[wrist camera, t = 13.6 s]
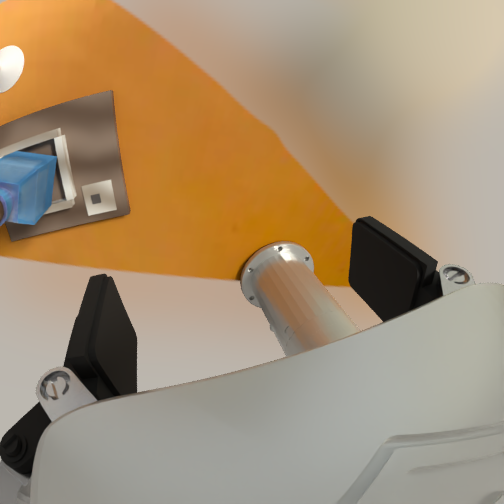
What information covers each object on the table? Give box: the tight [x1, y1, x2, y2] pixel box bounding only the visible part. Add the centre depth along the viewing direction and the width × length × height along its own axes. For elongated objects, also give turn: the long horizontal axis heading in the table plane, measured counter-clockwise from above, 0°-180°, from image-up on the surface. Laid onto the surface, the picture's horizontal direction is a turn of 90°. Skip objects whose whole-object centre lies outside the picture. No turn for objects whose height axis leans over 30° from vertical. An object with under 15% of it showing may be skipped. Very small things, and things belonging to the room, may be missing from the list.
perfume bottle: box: [0, 151, 57, 225], centre depth 23 cm, size 6×6×12 cm
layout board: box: [0, 90, 130, 241], centre depth 29 cm, size 16×19×3 cm
